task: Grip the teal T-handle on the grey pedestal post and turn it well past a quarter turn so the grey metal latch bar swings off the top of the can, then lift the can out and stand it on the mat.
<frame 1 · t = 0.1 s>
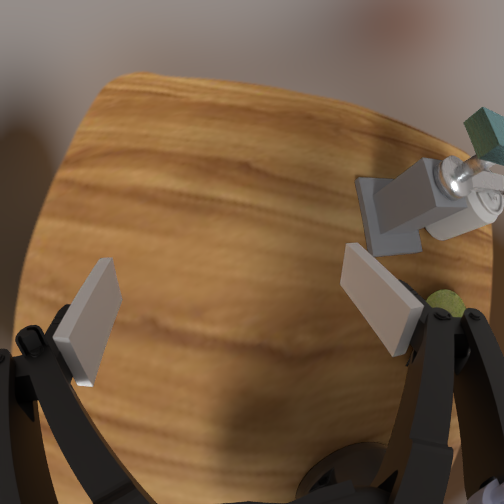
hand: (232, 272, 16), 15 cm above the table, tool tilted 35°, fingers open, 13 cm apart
latch key: (497, 165, 18), point 17 cm above the table, hinge at 0.0°
grey pedestal post: (387, 217, 35), on the table
mat: (434, 331, 33), on the table
can: (433, 217, 36), on the table
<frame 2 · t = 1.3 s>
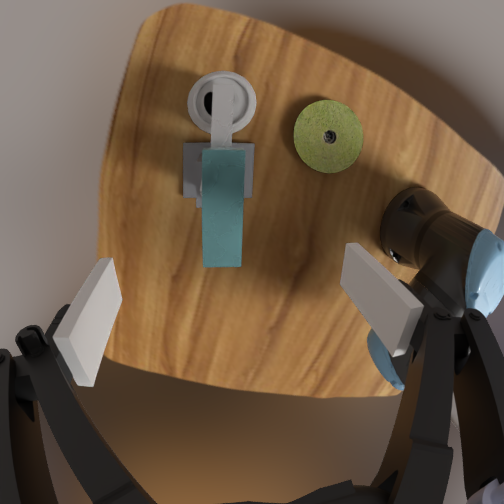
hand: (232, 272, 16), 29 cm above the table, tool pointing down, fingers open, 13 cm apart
latch key: (221, 162, 24), point 17 cm above the table, hinge at 0.0°
grey pedestal post: (218, 169, 41), on the table
mat: (325, 135, 41), on the table
can: (219, 109, 38), on the table
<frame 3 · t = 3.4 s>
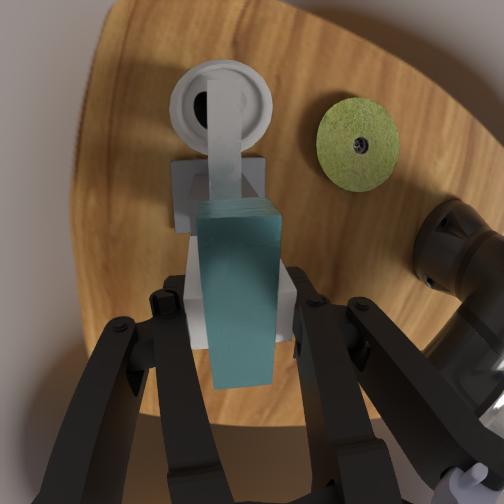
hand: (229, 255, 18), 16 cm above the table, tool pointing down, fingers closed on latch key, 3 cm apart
latch key: (229, 214, 15), point 17 cm above the table, hinge at 0.0°, touching gripper
grey pedestal post: (218, 193, 32), on the table
mat: (353, 143, 32), on the table
can: (216, 112, 28), on the table
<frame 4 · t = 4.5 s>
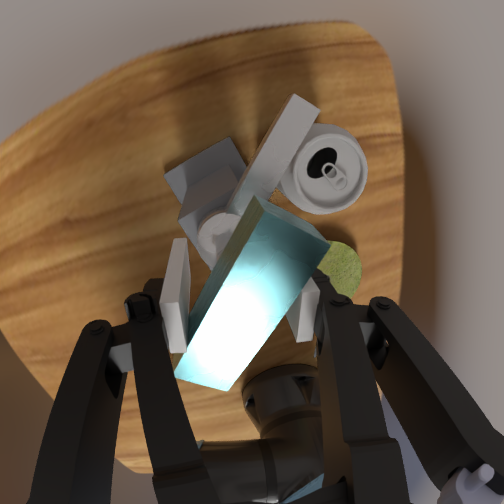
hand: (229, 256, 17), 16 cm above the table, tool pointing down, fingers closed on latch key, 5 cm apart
latch key: (257, 219, 15), point 17 cm above the table, hinge at 33.6°, touching gripper
grey pedestal post: (218, 192, 32), on the table
mat: (318, 273, 38), on the table
can: (289, 154, 31), on the table
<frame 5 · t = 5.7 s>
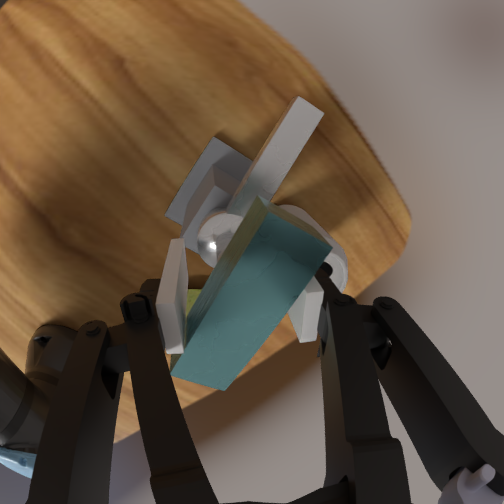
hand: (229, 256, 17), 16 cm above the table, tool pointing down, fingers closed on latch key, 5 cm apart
latch key: (259, 220, 15), point 17 cm above the table, hinge at 94.0°, touching gripper
grey pedestal post: (219, 193, 32), on the table
can: (282, 231, 35), on the table
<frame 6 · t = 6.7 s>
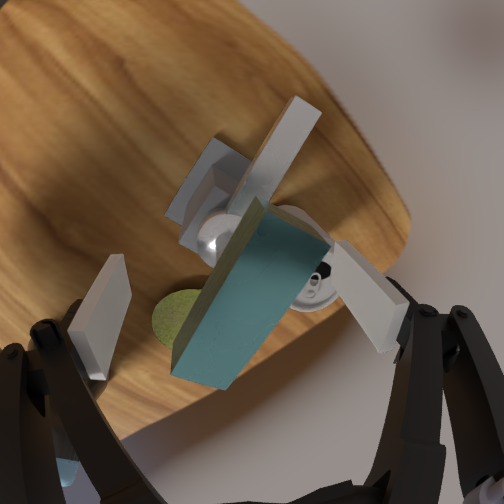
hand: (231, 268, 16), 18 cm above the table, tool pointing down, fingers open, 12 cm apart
latch key: (258, 220, 15), point 17 cm above the table, hinge at 94.8°
grey pedestal post: (218, 193, 32), on the table
mat: (194, 316, 38), on the table
can: (281, 232, 35), on the table
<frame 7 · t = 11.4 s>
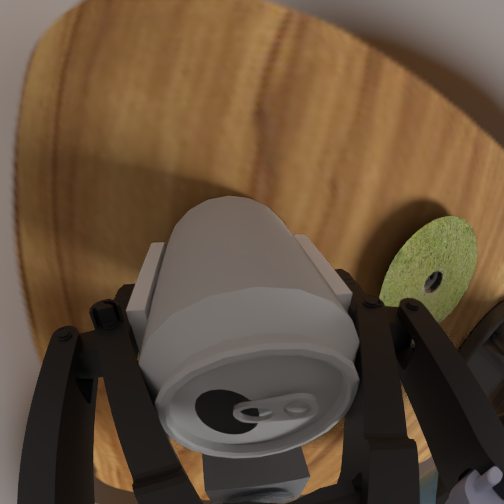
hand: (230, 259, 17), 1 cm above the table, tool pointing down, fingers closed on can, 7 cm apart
grey pedestal post: (233, 354, 22), on the table
mat: (420, 270, 22), on the table
can: (228, 249, 18), on the table, touching gripper
when the fingers open (4 cm above the table, at t = 17.1 s): can drops 1 cm, resting on mat.
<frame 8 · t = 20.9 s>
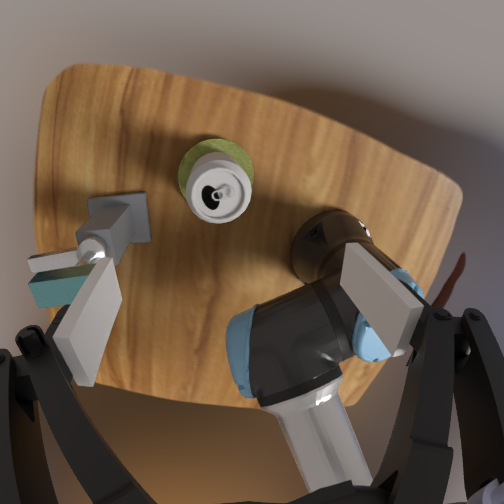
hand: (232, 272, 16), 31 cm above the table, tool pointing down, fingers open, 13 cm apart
latch key: (60, 271, 28), point 17 cm above the table, hinge at 94.9°
grey pedestal post: (120, 218, 44), on the table
mat: (215, 174, 43), on the table, touching can
can: (215, 176, 42), point 2 cm above the table, touching mat
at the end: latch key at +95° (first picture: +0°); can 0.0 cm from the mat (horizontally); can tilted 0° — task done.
